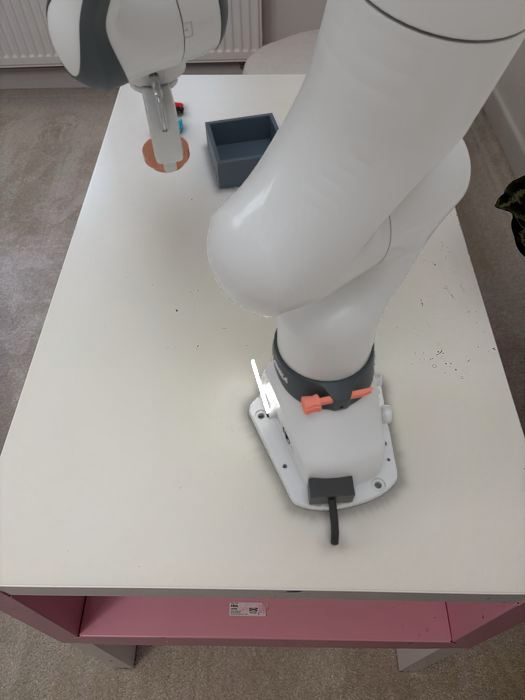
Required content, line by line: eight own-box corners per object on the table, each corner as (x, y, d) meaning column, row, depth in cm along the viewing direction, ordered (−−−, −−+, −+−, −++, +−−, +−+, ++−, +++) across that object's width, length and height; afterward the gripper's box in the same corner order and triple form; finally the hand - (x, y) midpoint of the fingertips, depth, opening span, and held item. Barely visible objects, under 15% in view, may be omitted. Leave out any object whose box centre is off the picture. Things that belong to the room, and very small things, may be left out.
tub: (288, 178, 100) (289, 152, 96) (219, 189, 99) (217, 163, 94) (272, 137, 108) (272, 112, 103) (207, 147, 106) (204, 122, 102)
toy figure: (153, 112, 116) (141, 141, 106) (151, 89, 113) (139, 116, 102) (187, 115, 117) (179, 144, 106) (186, 92, 113) (178, 119, 103)
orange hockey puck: (194, 172, 76) (192, 158, 74) (147, 179, 75) (144, 165, 73) (186, 145, 80) (184, 131, 78) (142, 151, 79) (139, 137, 77)
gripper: (187, 95, 60) (199, 193, 71) (163, 15, 71) (177, 111, 82) (132, 103, 59) (153, 200, 70) (117, 21, 70) (138, 116, 82)
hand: (166, 151), depth 76 cm, fingers closed on orange hockey puck, 7 cm apart
